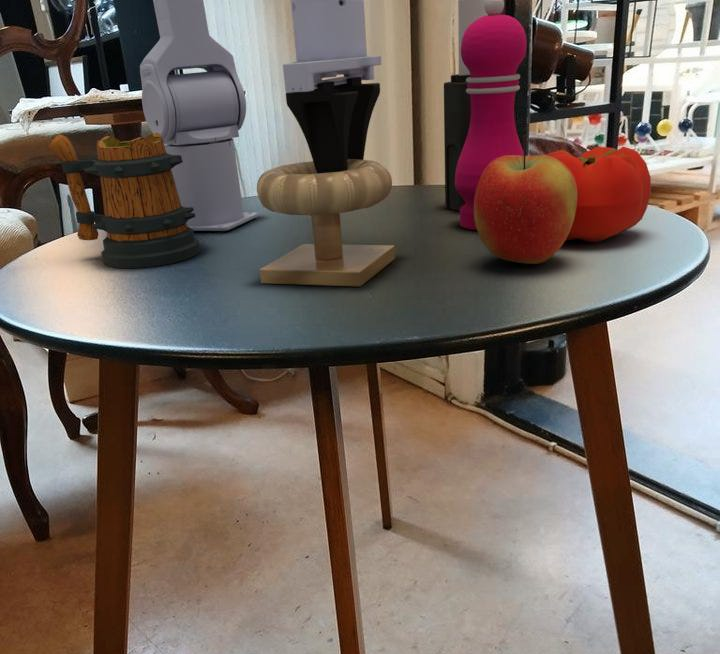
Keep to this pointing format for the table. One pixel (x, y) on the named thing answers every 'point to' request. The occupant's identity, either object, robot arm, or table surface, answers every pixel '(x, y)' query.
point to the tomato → (607, 191)
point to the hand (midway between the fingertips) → (340, 179)
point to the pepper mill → (489, 98)
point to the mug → (131, 201)
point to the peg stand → (328, 259)
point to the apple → (525, 207)
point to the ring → (323, 188)
